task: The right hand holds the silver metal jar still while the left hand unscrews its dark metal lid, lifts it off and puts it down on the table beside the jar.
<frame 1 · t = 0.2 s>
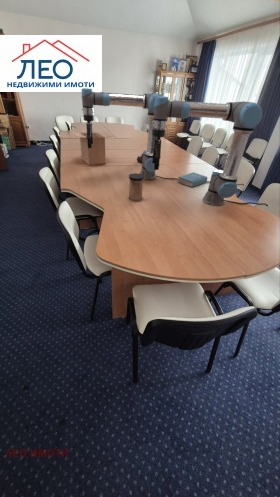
left hand: (90, 146, 173), 28 cm above the table, tool pointing down, fingers open, 13 cm apart
right hand: (155, 166, 140), 28 cm above the table, tool pointing down, fingers open, 13 cm apart
box: (93, 161, 237), on the table
jar: (135, 197, 167), on the table
book: (192, 182, 202), on the table
laser sight: (146, 163, 243), on the table
lid: (136, 176, 157), point 16 cm above the table, screwed on, not yet turned
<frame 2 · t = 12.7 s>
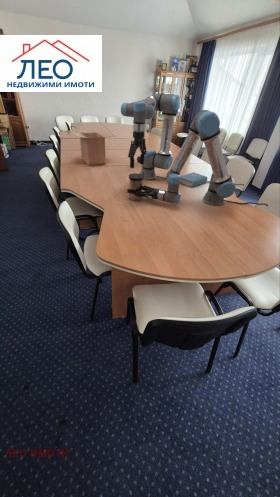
left hand: (137, 165, 153), 24 cm above the table, tool pointing down, fingers open, 12 cm apart
right hand: (130, 188, 164), 7 cm above the table, tool horizontal, fingers closed on jar, 10 cm apart
jar: (135, 197, 167), on the table, touching right hand
everything else where it was.
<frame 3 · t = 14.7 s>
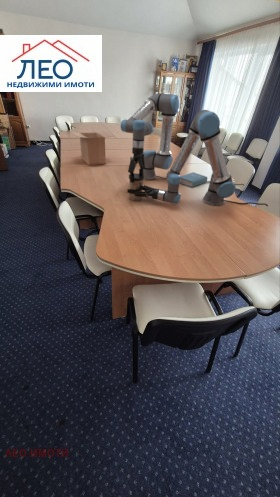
left hand: (136, 180, 158), 14 cm above the table, tool pointing down, fingers closed on lid, 11 cm apart
right hand: (130, 188, 164), 7 cm above the table, tool horizontal, fingers closed on jar, 10 cm apart
jar: (135, 197, 167), on the table, touching right hand
lid: (136, 176, 157), point 16 cm above the table, screwed on, not yet turned, touching left hand
everything else where it was.
when the left hand's fingers open (14 cm above the table, at t = 16.4 s): lid stays where it is, point 17 cm above the table.
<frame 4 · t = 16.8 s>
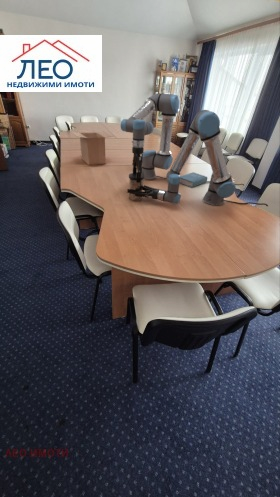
left hand: (136, 179, 158), 14 cm above the table, tool pointing down, fingers open, 12 cm apart
right hand: (130, 188, 164), 7 cm above the table, tool horizontal, fingers closed on jar, 10 cm apart
jar: (135, 197, 167), on the table, touching right hand
lid: (136, 175, 157), point 17 cm above the table, turned 95° so far, risen 0.3 cm, still on its thread
everything else where it was.
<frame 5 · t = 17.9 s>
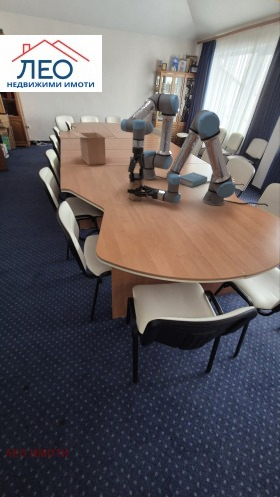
left hand: (136, 179, 158), 14 cm above the table, tool pointing down, fingers closed on lid, 11 cm apart
right hand: (130, 188, 164), 7 cm above the table, tool horizontal, fingers closed on jar, 10 cm apart
jar: (135, 197, 167), on the table, touching right hand
lid: (136, 175, 157), point 17 cm above the table, turned 95° so far, risen 0.3 cm, still on its thread, touching left hand
everything else where it was.
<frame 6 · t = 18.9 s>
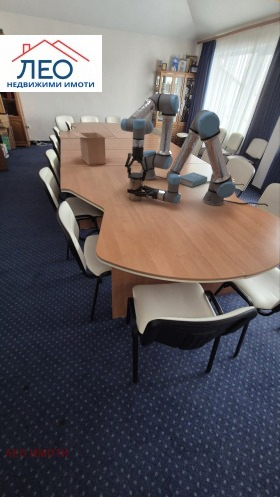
left hand: (136, 179, 158), 14 cm above the table, tool pointing down, fingers closed on lid, 11 cm apart
right hand: (130, 188, 164), 7 cm above the table, tool horizontal, fingers closed on jar, 10 cm apart
jar: (135, 197, 167), on the table, touching right hand
lid: (136, 175, 156), point 17 cm above the table, off its thread, touching left hand
everything else where it was.
when the left hand's fingers open (0 cm above the table, at t = 24.3 s): lid drops 2 cm, point 1 cm above the table.
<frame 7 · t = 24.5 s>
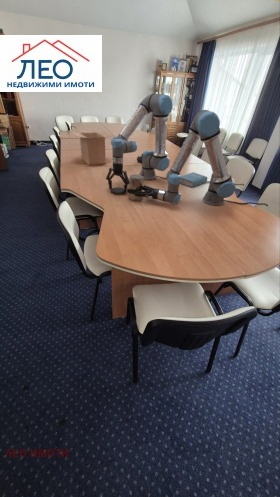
left hand: (117, 190, 173), 1 cm above the table, tool pointing down, fingers open, 13 cm apart
right hand: (130, 188, 164), 7 cm above the table, tool horizontal, fingers closed on jar, 10 cm apart
jar: (135, 197, 167), on the table, touching right hand
lid: (117, 190, 173), point 1 cm above the table, off its thread
everything else where it was.
when the right hand's fingers open (7 cm above the table, at t = 25.3 s): jar stays where it is, on the table.
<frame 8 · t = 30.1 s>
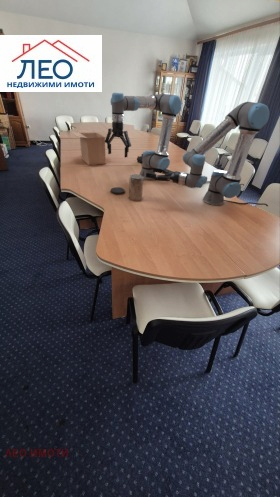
left hand: (117, 155, 158), 27 cm above the table, tool pointing down, fingers open, 13 cm apart
right hand: (149, 172, 151), 21 cm above the table, tool horizontal, fingers open, 13 cm apart
jar: (135, 197, 167), on the table
everything else where it was.
at the end: lid came off its thread; lid point 1.4 cm above the table; the left hand is holding nothing; the right hand is holding nothing; jar tilted 0°; jar moved 0.0 cm from its start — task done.
